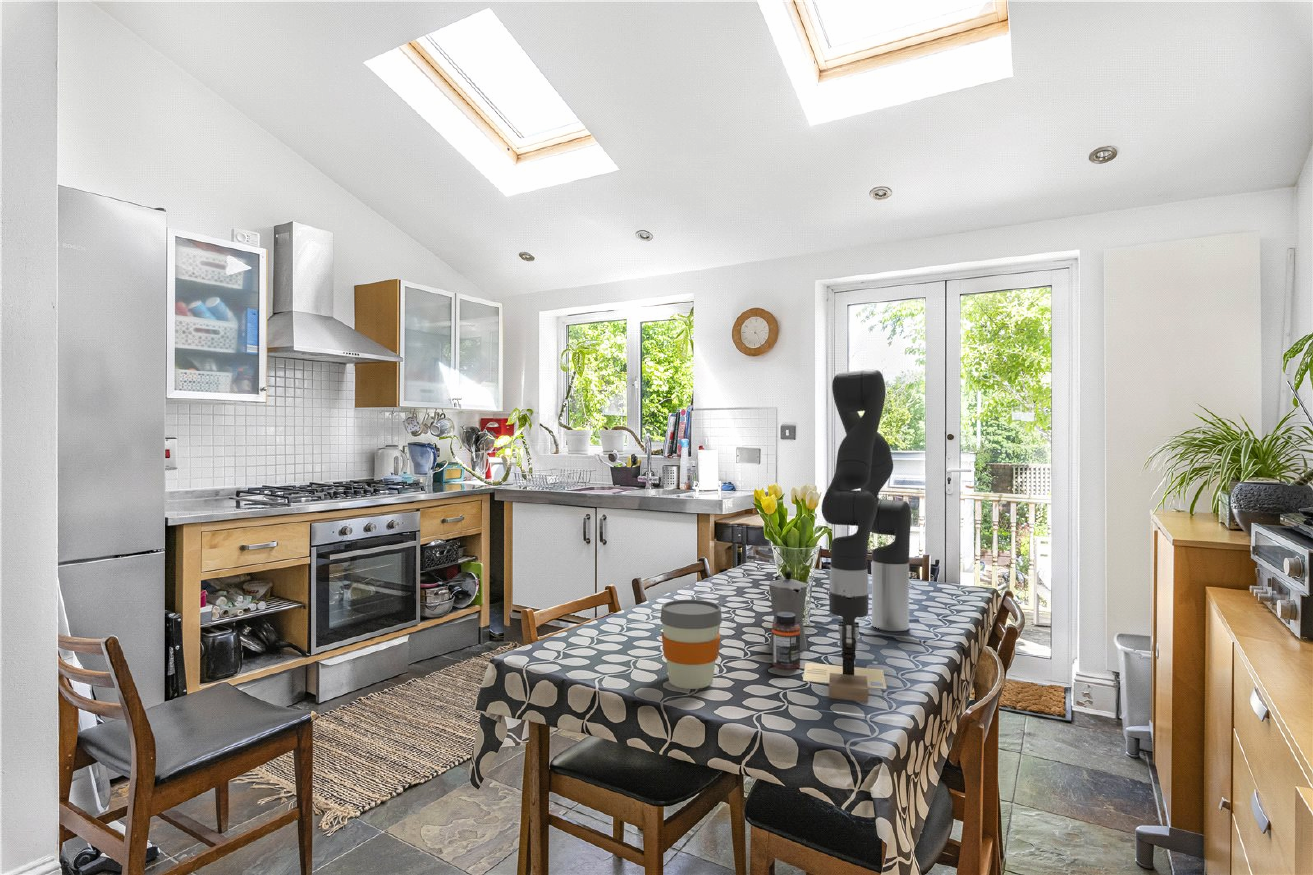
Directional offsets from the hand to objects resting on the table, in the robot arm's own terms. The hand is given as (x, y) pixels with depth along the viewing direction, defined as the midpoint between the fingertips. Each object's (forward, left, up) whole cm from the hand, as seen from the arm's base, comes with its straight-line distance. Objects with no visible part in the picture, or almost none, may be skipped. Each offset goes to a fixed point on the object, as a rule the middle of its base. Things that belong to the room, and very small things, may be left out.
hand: (848, 676), depth 131 cm
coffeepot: (-22, -14, -2) cm, 26 cm away
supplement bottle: (-8, -13, -2) cm, 15 cm away
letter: (-5, -1, -2) cm, 5 cm away
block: (+5, 0, -2) cm, 5 cm away
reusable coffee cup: (+6, -31, -2) cm, 31 cm away
